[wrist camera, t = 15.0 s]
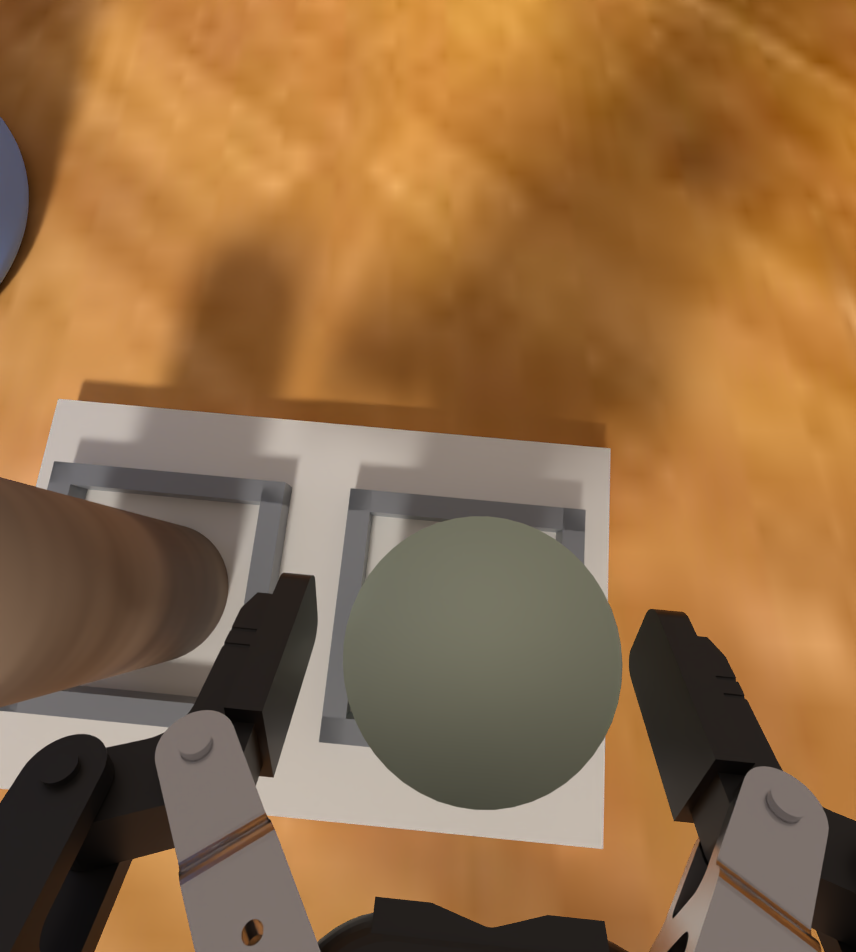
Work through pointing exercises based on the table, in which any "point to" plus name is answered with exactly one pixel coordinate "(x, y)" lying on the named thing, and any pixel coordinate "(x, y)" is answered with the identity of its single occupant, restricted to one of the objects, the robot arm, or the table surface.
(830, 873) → the robot arm
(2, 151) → the water jug
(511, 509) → the base plate
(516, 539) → the sage column
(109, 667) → the walnut column
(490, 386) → the table surface
